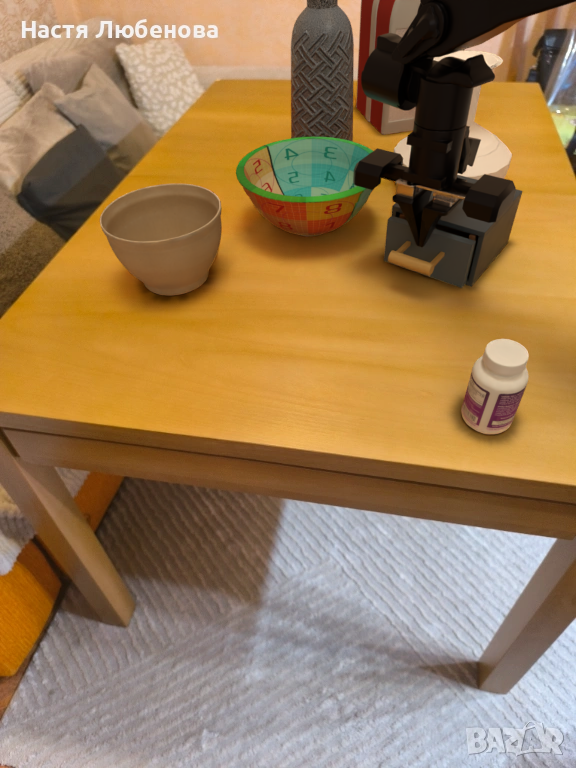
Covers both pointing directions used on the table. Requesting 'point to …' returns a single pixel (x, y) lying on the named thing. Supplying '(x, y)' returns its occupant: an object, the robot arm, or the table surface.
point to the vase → (322, 72)
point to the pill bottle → (496, 387)
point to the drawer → (431, 251)
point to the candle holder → (475, 132)
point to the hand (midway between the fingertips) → (421, 245)
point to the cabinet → (479, 232)
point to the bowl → (305, 183)
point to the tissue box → (377, 17)
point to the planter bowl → (165, 235)
